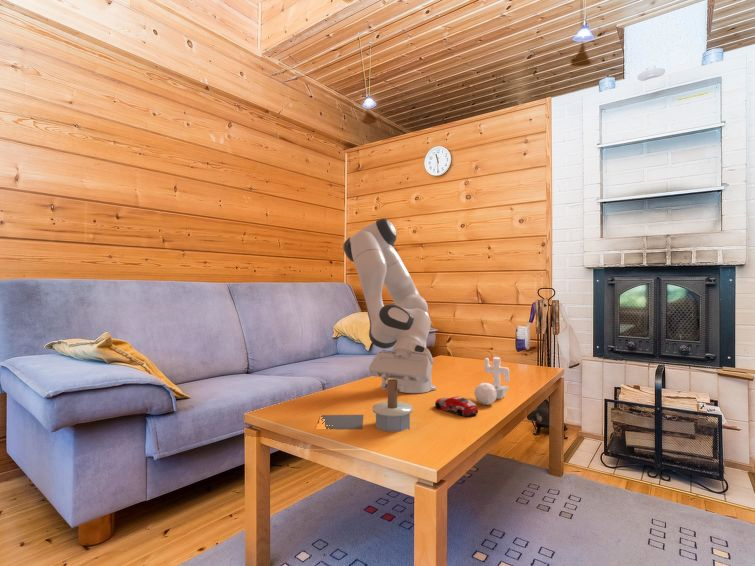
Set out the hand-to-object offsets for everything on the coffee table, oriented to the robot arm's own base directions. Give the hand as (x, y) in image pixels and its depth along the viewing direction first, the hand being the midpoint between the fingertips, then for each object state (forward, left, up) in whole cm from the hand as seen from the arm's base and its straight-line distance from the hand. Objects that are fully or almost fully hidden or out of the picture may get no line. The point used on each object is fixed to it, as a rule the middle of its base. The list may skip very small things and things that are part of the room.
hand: (391, 389), depth 129 cm
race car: (-17, +23, -12) cm, 31 cm away
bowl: (-1, 0, -11) cm, 11 cm away
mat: (-5, -16, -11) cm, 20 cm away
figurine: (-35, +42, -12) cm, 55 cm away
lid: (0, 0, -6) cm, 6 cm away
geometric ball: (-25, +35, -12) cm, 44 cm away
